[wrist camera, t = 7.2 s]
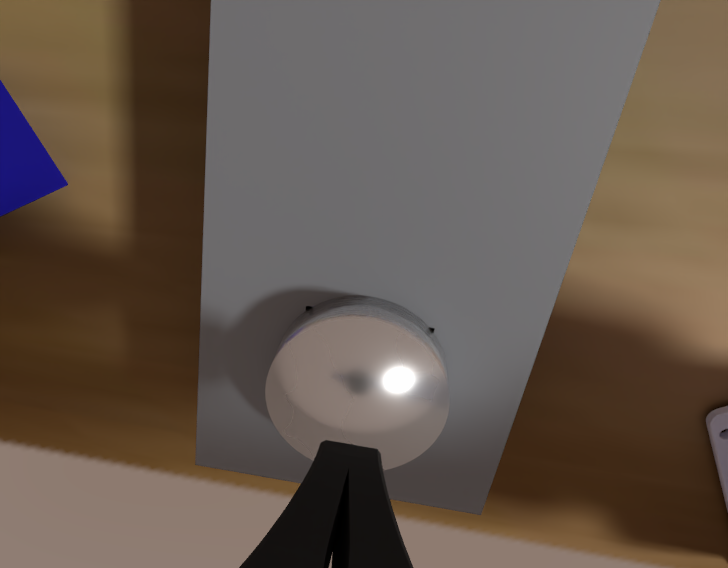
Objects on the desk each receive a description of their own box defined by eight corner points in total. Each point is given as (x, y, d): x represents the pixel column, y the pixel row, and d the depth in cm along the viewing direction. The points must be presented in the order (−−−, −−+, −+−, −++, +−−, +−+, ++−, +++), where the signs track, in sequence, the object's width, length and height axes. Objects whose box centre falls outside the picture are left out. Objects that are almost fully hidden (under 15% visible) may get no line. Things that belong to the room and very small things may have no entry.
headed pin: (460, 352, 20) (475, 445, 16) (334, 393, 21) (313, 489, 17) (408, 229, 18) (408, 294, 14) (272, 280, 20) (232, 356, 15)
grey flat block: (469, 436, 22) (480, 515, 19) (229, 394, 23) (195, 464, 19) (628, -77, 15) (698, -110, 11) (264, -141, 15) (217, -195, 11)
